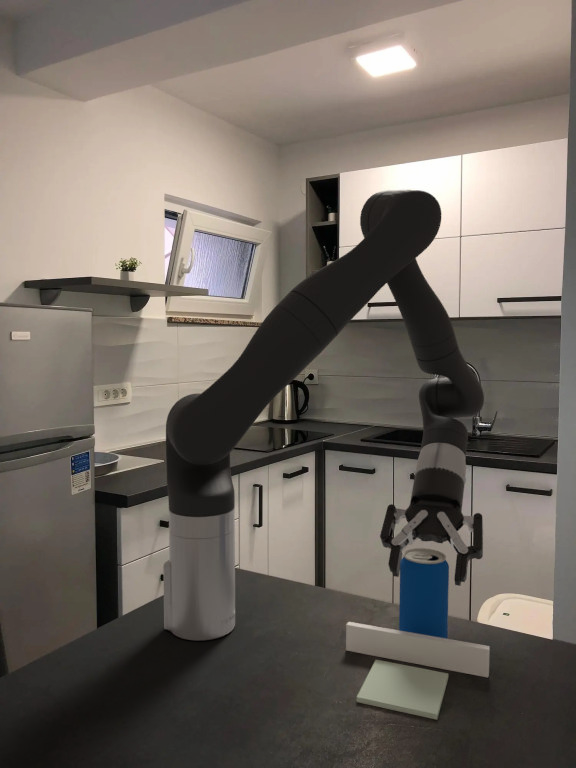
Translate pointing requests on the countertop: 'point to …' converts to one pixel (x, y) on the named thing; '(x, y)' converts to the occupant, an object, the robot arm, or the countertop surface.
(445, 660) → the low wall
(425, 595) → the beverage can
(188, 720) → the countertop surface
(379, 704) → the mat
